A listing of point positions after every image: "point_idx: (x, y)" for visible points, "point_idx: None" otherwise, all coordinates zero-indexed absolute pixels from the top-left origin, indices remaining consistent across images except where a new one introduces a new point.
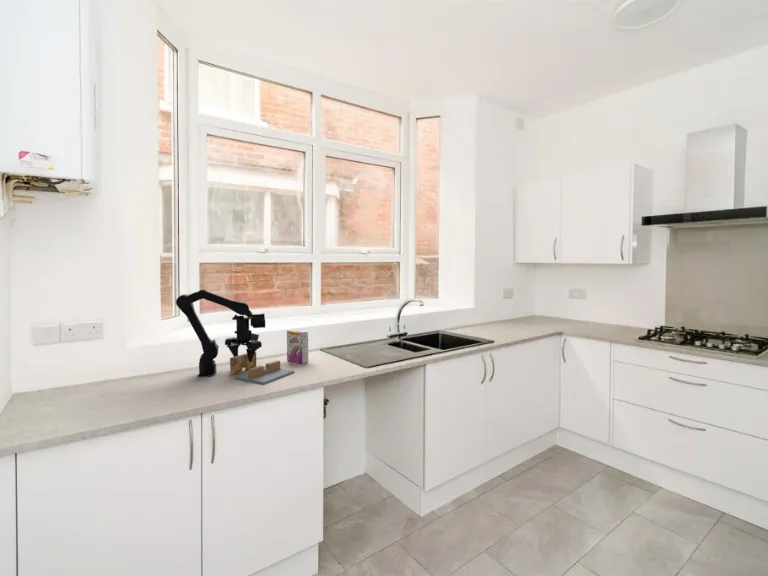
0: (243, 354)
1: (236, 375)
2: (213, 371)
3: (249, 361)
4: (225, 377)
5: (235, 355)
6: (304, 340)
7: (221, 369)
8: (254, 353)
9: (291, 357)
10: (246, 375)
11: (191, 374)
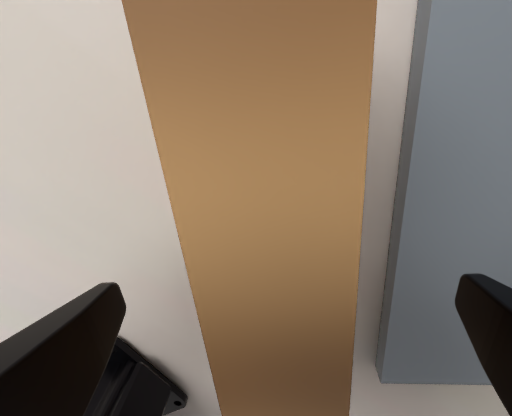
0: (233, 367)
1: (386, 366)
2: (162, 409)
3: (476, 323)
4: None
5: (81, 383)
6: None
7: (48, 266)
8: (370, 4)
9: None
10: None
11: None
